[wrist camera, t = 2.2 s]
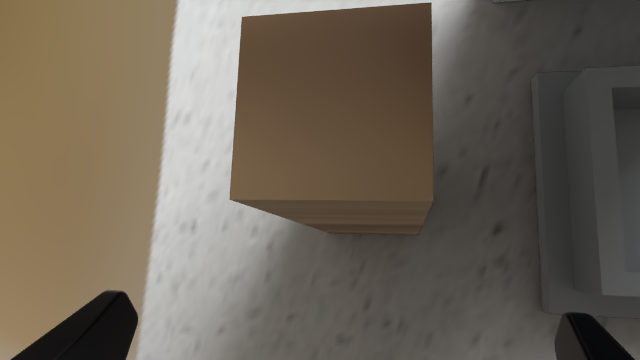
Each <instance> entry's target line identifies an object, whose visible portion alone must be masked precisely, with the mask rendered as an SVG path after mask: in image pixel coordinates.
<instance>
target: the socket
mask: <svg viewBox="0 0 640 360" xmlns="http://www.w3.org/2000/svg"><path fill="white" fill-rule="evenodd" d="M531 94H532V113H533V133H534V153H535V173H536V192H537V212H538V232H539V252H540V271H541V291H542V311H544V312H547V313H549V314H564V313H566V312H579V313H587V314H589V315H591V316H601V317H620V318H638V319H640V65H638V66H616V67H594V68H585V69H584V70H581V71H559V72H537V73H536V75H535V76H534V78H533V79H532V81H531Z"/></svg>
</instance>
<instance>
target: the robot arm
mask: <svg viewBox="0 0 640 360" xmlns="http://www.w3.org/2000/svg"><path fill="white" fill-rule="evenodd" d="M137 324H138V314H137V312H136V310H135V308H134V306H133V304H132V303H131V301H130V299H129V297H128V295H127V294H126V293H125V292H124V291H116V290H108V291H105V292H103V293H101V294H100V295H99V296H97V297H96V298H94V299H93V300H92V301H90V302H89V303H88V304H86V305H85V306H83V307H82V308H81V309H79V310H78V311H76V312H75V313H74V314H72V315H71V316H70V317H68V318H67V319H66V320H64V321H63V322H62V323H60V324H59V325H58V326H56V327H55V328H53V329H52V330H50V331H49V332H48V333H46V334H45V335H44V336H42V337H41V338H40V339H38V340H37V341H35V342H34V343H33V344H31V345H30V346H29V347H27V348H26V349H25V350H23V351H22V352H20V353H19V354H18V355H16V356H15V357H14V358H12V359H11V360H126V357H127V354H128V351H129V348H130V345H131V342H132V339H133V336H134V333H135V330H136V327H137ZM555 352H556V357H557V360H635V359H634V358H633V357H632V356H631V355H630V354H629V353H628V352H627V351H626V350H625V349H624V348H623V347H622V346H621V345H620V344H619V343H618V342H617V341H616V340H615V339H614V338H613V337H612V336H611V335H610V334H609V333H608V332H607V331H606V330H605V329H604V328H603V327H602V326H601V325H600V324H599V323H598V322H597V321H596V319H595V318H593V317H592V316H591V315H589V314H587V313H579V312H566V313H564V314H563V316H562V318H561V321H560V325H559V328H558V331H557V334H556V338H555Z"/></svg>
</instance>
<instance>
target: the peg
mask: <svg viewBox="0 0 640 360" xmlns="http://www.w3.org/2000/svg"><path fill="white" fill-rule="evenodd" d="M230 200H233V201H236V202H239V203H242V204H245V205H248V206H251V207H254V208H257V209H260V210H263V211H266V212H269V213H272V214H275V215H278V216H281V217H284V218H287V219H290V220H293V221H296V222H299V223H302V224H305V225H308V226H311V227H314V228H317V229H320V230H323V231H326V232H329V233H354V234H398V235H418V234H419V232H420V230H421V228H422V225H423V223H424V221H425V219H426V217H427V214H428V212H429V210H430V208H431V206H432V203H433V108H432V15H431V3H418V4H405V5H392V6H379V7H366V8H353V9H340V10H327V11H314V12H300V13H287V14H274V15H261V16H248V17H242V24H241V39H240V53H239V68H238V83H237V98H236V112H235V127H234V142H233V157H232V171H231V186H230Z"/></svg>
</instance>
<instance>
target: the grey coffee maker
mask: <svg viewBox="0 0 640 360" xmlns="http://www.w3.org/2000/svg"><path fill="white" fill-rule="evenodd" d="M511 1H524V0H493V3H497V2H511Z"/></svg>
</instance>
